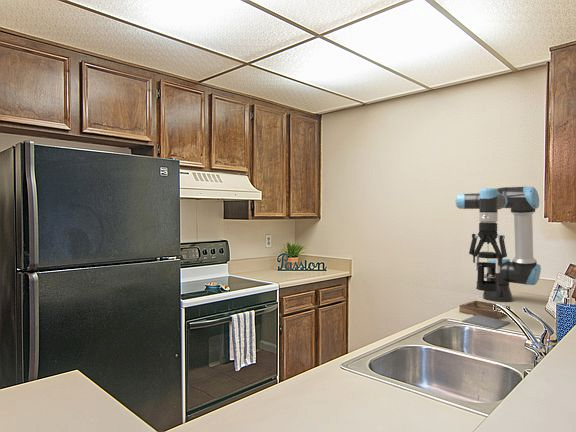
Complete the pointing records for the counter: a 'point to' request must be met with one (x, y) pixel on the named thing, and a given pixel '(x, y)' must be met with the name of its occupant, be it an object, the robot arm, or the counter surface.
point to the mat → (486, 322)
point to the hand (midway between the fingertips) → (487, 271)
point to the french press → (482, 284)
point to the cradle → (481, 309)
